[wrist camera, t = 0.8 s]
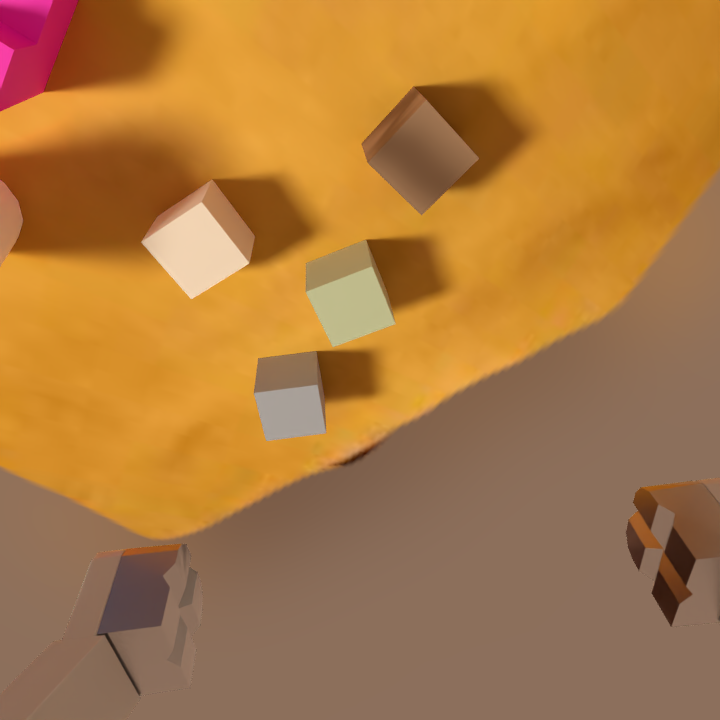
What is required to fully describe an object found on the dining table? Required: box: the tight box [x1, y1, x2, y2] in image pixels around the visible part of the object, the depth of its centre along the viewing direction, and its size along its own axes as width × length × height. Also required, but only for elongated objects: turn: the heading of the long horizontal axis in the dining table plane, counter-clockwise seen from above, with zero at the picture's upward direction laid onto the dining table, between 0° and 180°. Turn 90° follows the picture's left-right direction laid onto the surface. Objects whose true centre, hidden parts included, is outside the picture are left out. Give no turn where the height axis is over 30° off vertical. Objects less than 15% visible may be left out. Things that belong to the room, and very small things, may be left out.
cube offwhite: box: [141, 180, 255, 299], centre depth 41 cm, size 5×5×5 cm
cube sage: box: [306, 240, 395, 347], centre depth 44 cm, size 5×5×5 cm
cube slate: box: [254, 351, 326, 441], centre depth 49 cm, size 5×5×5 cm
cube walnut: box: [362, 87, 479, 215], centre depth 39 cm, size 5×5×5 cm
